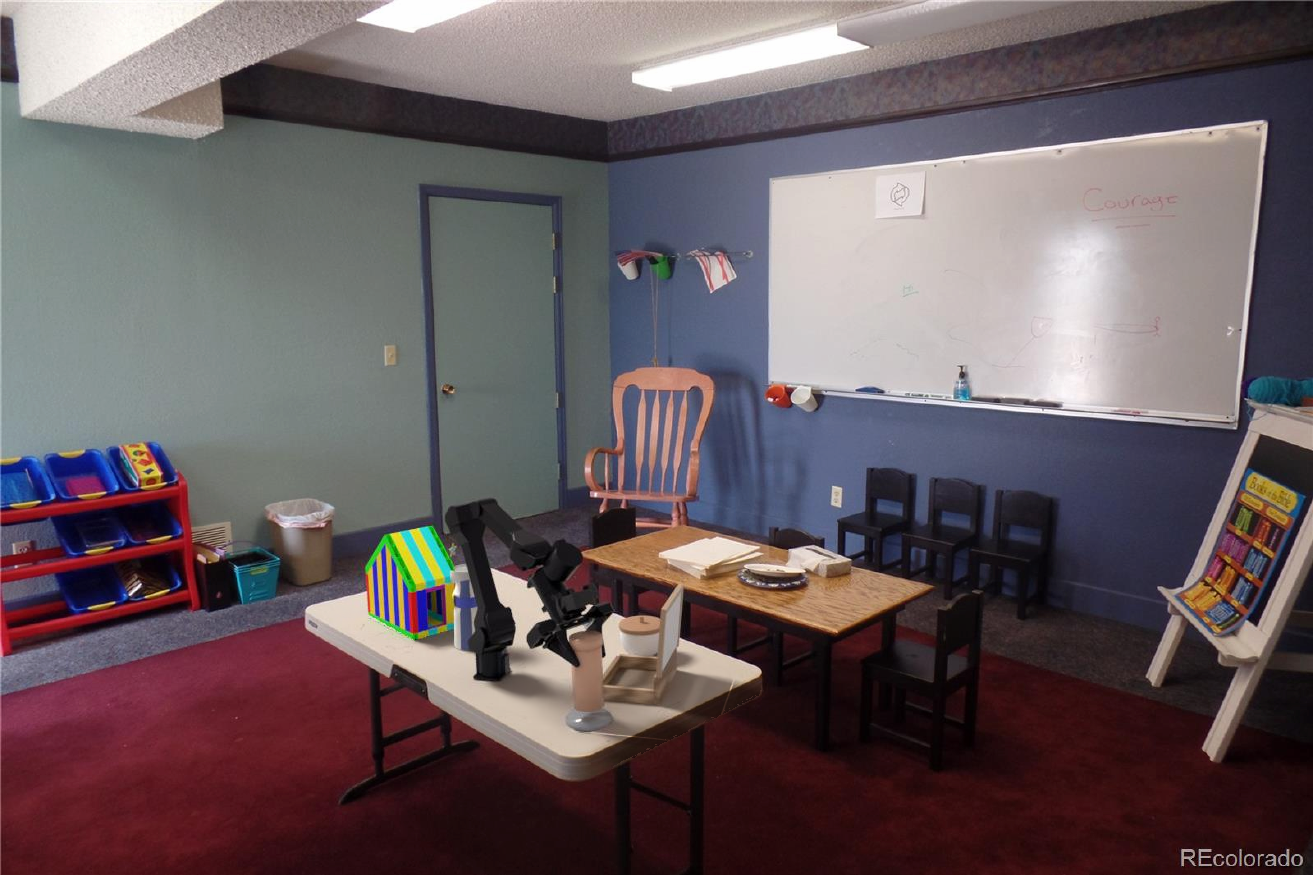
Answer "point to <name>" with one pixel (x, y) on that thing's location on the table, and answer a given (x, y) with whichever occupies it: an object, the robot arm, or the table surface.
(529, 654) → the table surface
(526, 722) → the table surface
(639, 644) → the lidded jar
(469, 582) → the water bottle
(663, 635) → the lid
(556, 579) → the robot arm
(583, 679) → the tan cylindrical canister
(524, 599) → the table surface
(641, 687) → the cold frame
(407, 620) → the toy house
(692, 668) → the table surface
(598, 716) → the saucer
